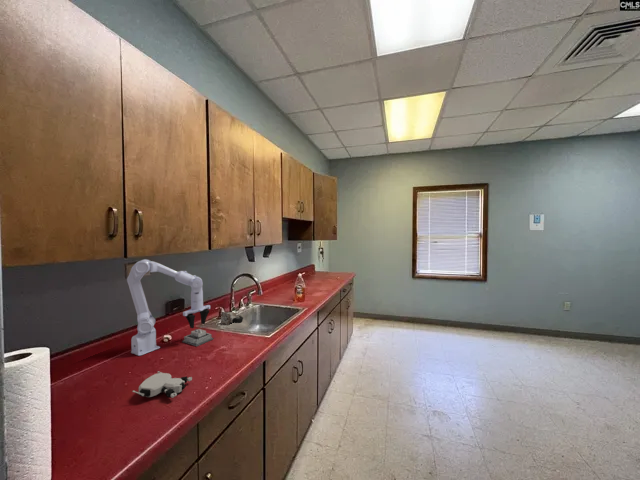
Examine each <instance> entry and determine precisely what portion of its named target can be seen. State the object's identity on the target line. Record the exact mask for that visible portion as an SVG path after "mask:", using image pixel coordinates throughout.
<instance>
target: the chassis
mask: <svg viewBox="0 0 640 480" xmlns="http://www.w3.org/2000/svg"><path fill="white" fill-rule="evenodd" d="M183 338H184V339H183V340H182V341H181V342H182V343H183V344H187V345H189V346H190V345H191V346H194V347H199V346H201V345H203V344H206V343H208V342H211V341H213V340H214V339H215V338H214V337H212V334H211V333H209V332H206V336H204V337H202V338H199V339H193V338H191V333H190V334H187V335H186V336H185V335H184V337H183Z"/></svg>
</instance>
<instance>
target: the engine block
mask: <svg viewBox="0 0 640 480" xmlns="http://www.w3.org/2000/svg"><path fill="white" fill-rule="evenodd" d="M206 333H207V330H206V329H205V330H204V329H201V328H198V329H197V328H196V329H194V330H191V331H190V334H191V338H193V339H199V338H202V337H204V336H206Z"/></svg>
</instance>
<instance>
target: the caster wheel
mask: <svg viewBox="0 0 640 480" xmlns="http://www.w3.org/2000/svg"><path fill="white" fill-rule="evenodd" d="M243 320H244V317H243V316H241V315H238V314H237V313H236V312H234V311H233V312H232V311H229V312H225V311H223V312H222V314H221V319H220V323H221V324H224V325H226V326H229V325H230V323H231V324H233V323H234V324H241V323H243Z"/></svg>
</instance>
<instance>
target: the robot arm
mask: <svg viewBox="0 0 640 480" xmlns="http://www.w3.org/2000/svg"><path fill="white" fill-rule="evenodd" d="M148 272H149V273H157V272H158V273H161V274H164V275H166V276H169V277H171V278H174V280H175V281H176V282H178V283H180V284H183V285H186V286H188V287H189V286H190V289H191V292H190V309H188V310H185V311H183V312H182V316H183V317H185V319H186V320H187V322H188V324H189V328H190V329H194V328H195V318H196V315H195V314H196V313H199V315H200V323H201V325H206V321H207V318H208V315H209V313H210V310H211V305H210V304H207V305H204V291H203V285H204V283H203V279H202V278H201V277H200V276H197V275H196V274H194V275H193V274H191V273H189V272H188V271H187V270H179V271H176V270H174V269H172V268H170V267H168V266H165V265H164V264H161V263H159V262H156V261H153V260H152V261H151V260H150V259H147V258H144V259H141V260H138V261H137V262H136V263H134V264H133V265H132V267H131V269H130V272H129V274H128V276H127V279H126V282H127V284H128V287H129V292H130V294H131V299H132V301H133V305H134V308H135V312H136V314H137V316H136V317H137V319H136V320H137V328H136V329H137V333H136V334H135V335H133V336H132V337H131V341H130V342H131V345H130V346H131V351H130V353H131V354H134V355H136V356H139V357H140V356H143V355H145V354H148V353H150V352H151V353H152V352H153V351H156V350H159V349H160V348H161V346H159V345H157V330H156V328H155V324H156V320H157V319H156V318H155V317H154V316H153V315H152V312H151V311H150V308H149V304H148V301H147V298H146V295H145V291H144V289H143V285H142V282H141V280H142V278H143V277H144V276H145V275H146V274H147V273H148Z"/></svg>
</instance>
